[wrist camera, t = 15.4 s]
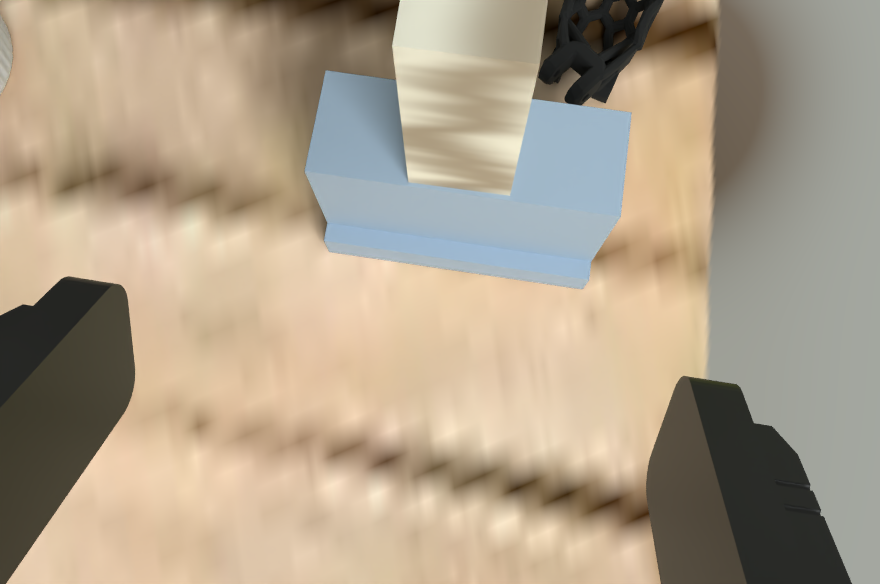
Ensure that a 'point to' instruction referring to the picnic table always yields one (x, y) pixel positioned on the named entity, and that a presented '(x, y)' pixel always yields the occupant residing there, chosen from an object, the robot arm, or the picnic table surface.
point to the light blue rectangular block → (463, 211)
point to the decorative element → (581, 58)
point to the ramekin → (5, 54)
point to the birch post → (466, 88)
